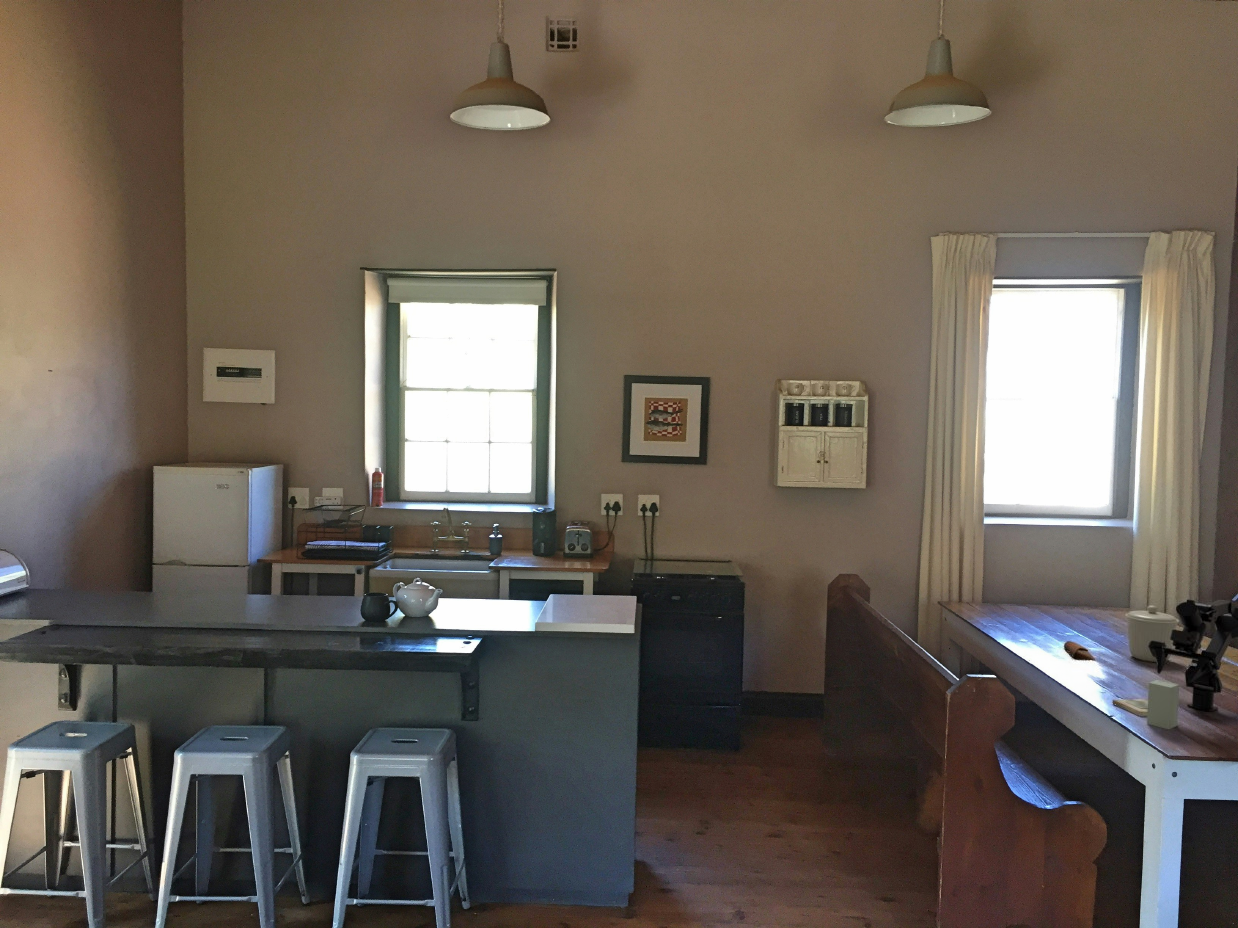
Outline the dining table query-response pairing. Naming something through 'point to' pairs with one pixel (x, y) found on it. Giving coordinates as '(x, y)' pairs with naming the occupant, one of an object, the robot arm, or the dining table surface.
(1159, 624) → the canister
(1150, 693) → the sage block
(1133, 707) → the birch slab
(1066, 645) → the brown bread roll
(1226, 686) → the dining table surface
